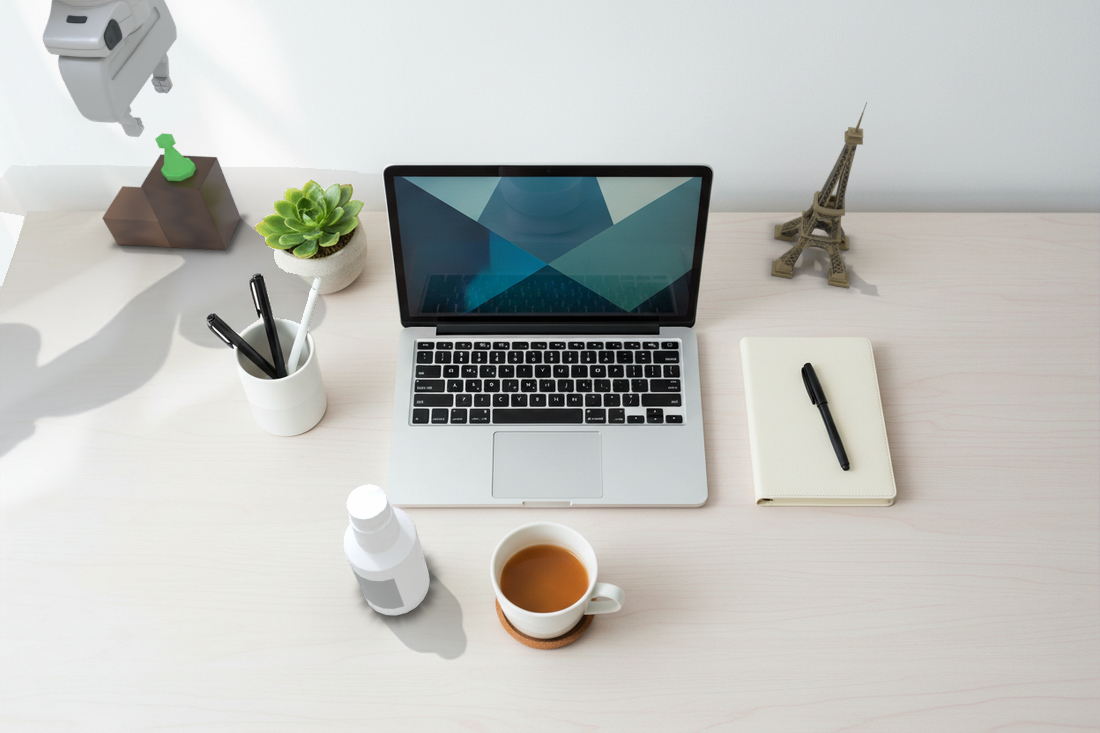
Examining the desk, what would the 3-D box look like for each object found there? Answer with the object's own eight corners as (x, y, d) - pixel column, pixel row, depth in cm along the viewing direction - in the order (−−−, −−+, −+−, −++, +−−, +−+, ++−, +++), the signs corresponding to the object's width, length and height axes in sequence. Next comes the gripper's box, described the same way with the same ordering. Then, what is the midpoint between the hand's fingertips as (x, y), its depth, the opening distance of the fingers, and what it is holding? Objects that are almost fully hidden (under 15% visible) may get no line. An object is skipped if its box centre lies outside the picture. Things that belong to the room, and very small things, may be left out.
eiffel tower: (847, 237, 115) (910, 83, 95) (848, 287, 108) (915, 134, 89) (775, 226, 116) (822, 72, 96) (771, 275, 110) (820, 121, 90)
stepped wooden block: (117, 244, 113) (81, 183, 104) (136, 212, 117) (103, 151, 108) (225, 250, 112) (199, 189, 103) (241, 217, 116) (216, 156, 108)
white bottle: (365, 557, 83) (328, 470, 69) (429, 551, 83) (406, 463, 69) (362, 620, 79) (323, 541, 65) (430, 613, 79) (406, 533, 65)
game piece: (197, 177, 105) (181, 140, 100) (163, 184, 104) (145, 146, 99) (194, 159, 107) (179, 121, 103) (162, 165, 106) (144, 127, 102)
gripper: (114, -41, 94) (157, 65, 105) (33, 48, 81) (92, 158, 92) (166, -38, 94) (203, 67, 105) (93, 51, 81) (144, 161, 92)
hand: (151, 111), depth 98 cm, fingers open, 8 cm apart
